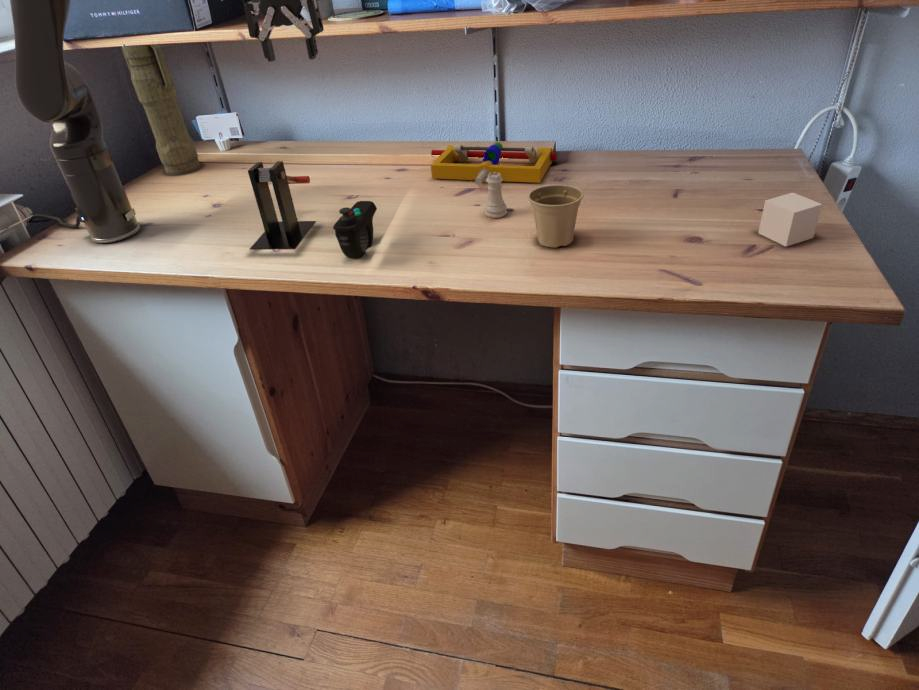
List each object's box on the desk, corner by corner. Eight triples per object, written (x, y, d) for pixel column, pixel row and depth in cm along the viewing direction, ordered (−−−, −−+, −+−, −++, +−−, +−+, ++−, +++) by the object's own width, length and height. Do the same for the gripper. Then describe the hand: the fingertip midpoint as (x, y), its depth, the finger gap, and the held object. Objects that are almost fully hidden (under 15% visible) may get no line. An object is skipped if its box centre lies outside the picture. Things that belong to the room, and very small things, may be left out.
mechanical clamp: (433, 132, 149) (558, 134, 140) (435, 158, 153) (557, 161, 144) (404, 158, 135) (540, 163, 126) (407, 186, 139) (540, 192, 130)
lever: (284, 186, 126) (283, 174, 126) (310, 186, 126) (309, 173, 125) (250, 182, 113) (249, 168, 112) (279, 181, 112) (278, 167, 111)
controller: (338, 269, 109) (326, 216, 104) (363, 237, 119) (353, 187, 113) (361, 270, 108) (351, 216, 103) (384, 238, 118) (376, 187, 112)
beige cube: (784, 225, 109) (792, 192, 106) (813, 238, 105) (822, 204, 101) (758, 233, 108) (765, 200, 104) (785, 246, 103) (794, 212, 99)
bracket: (275, 227, 127) (255, 155, 118) (317, 226, 125) (300, 153, 116) (251, 255, 117) (227, 178, 108) (296, 254, 115) (276, 177, 107)
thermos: (190, 176, 157) (137, 21, 136) (153, 174, 160) (96, 23, 140) (212, 163, 163) (165, 14, 143) (176, 162, 167) (125, 16, 147)
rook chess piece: (488, 208, 125) (485, 170, 121) (509, 210, 124) (508, 170, 119) (482, 218, 122) (479, 178, 117) (504, 219, 121) (502, 179, 116)
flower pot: (530, 228, 116) (529, 184, 111) (582, 228, 114) (583, 183, 109) (526, 252, 109) (525, 205, 104) (581, 252, 107) (583, 205, 102)
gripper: (226, -32, 112) (250, 65, 121) (301, -38, 110) (320, 61, 119) (244, -35, 118) (266, 58, 127) (316, -41, 116) (332, 54, 125)
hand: (292, 59), depth 123 cm, fingers open, 8 cm apart
